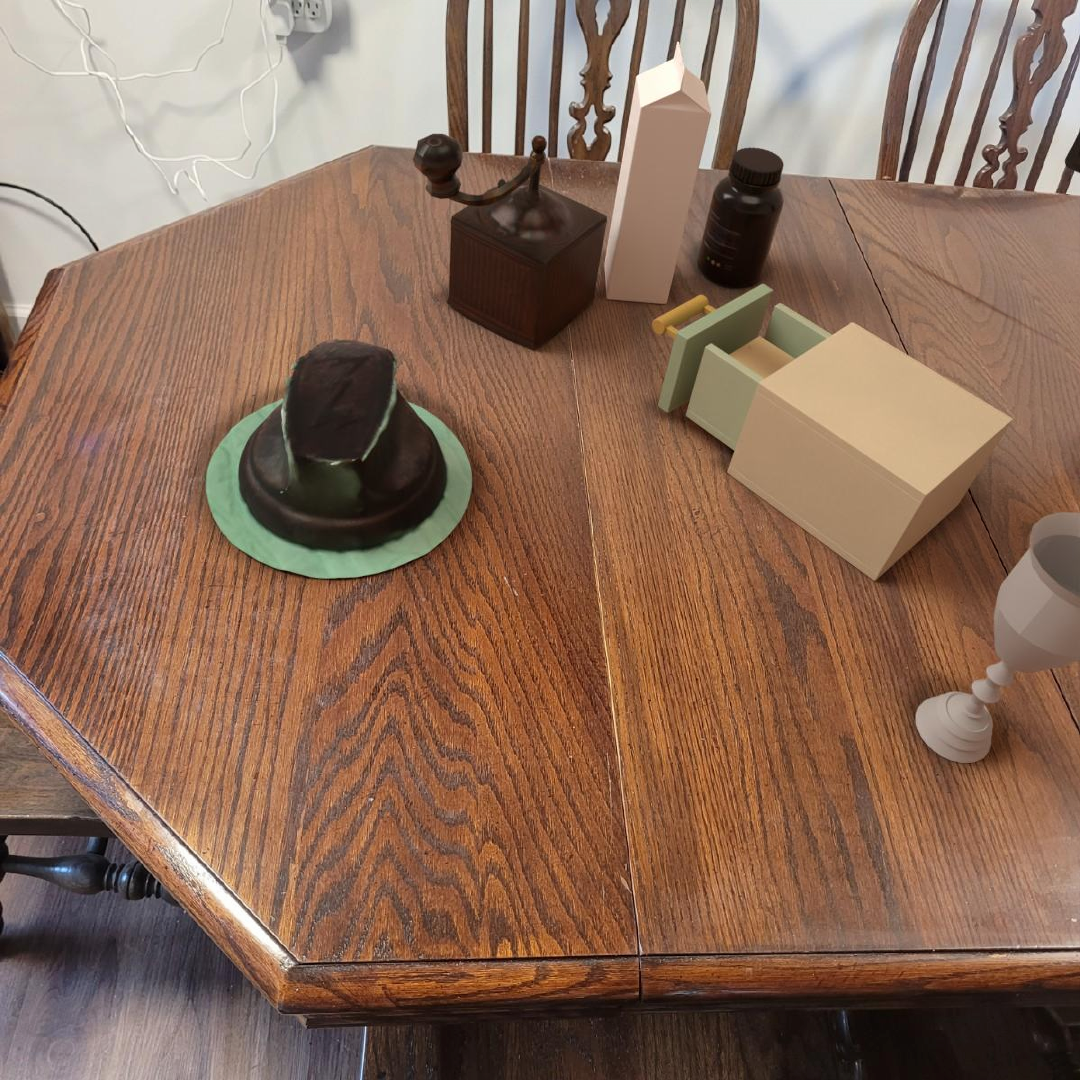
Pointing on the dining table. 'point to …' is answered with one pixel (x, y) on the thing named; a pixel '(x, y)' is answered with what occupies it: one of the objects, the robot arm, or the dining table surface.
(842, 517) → the cabinet
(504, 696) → the dining table surface
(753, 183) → the supplement bottle
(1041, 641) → the chalice
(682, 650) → the dining table surface
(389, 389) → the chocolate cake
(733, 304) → the drawer
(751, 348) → the block
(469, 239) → the brown coffee grinder
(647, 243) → the milk
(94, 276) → the dining table surface
